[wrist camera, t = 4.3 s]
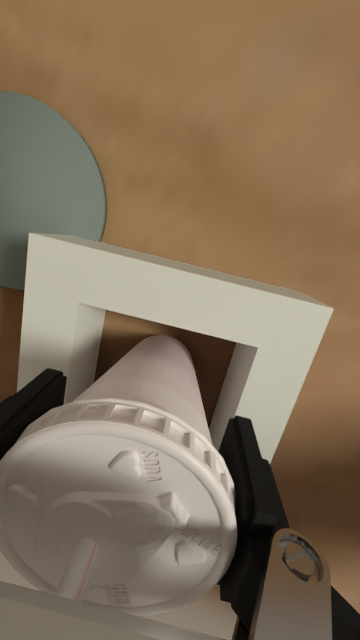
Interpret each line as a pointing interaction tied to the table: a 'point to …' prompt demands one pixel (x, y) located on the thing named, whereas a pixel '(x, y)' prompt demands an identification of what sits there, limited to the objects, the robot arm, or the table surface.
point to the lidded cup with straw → (122, 490)
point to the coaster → (43, 182)
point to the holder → (171, 309)
